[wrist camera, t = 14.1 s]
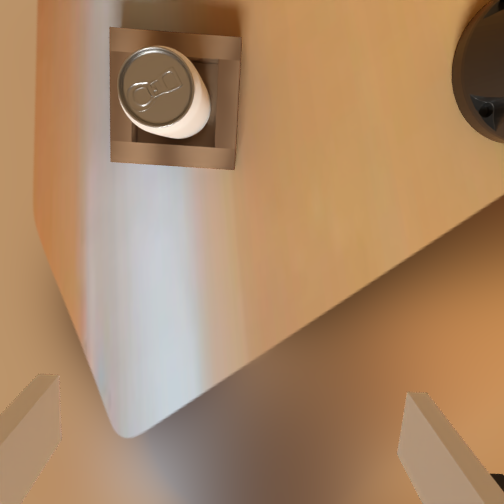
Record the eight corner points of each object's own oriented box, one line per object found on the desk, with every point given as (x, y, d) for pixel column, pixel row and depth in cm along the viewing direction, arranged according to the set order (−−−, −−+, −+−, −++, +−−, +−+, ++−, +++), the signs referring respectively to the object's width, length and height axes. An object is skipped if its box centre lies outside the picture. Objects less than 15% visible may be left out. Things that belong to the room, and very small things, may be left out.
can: (134, 91, 42) (93, 67, 30) (191, 59, 42) (172, 22, 30) (167, 150, 44) (140, 149, 32) (223, 120, 43) (216, 107, 31)
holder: (241, 46, 42) (241, 37, 39) (234, 168, 45) (234, 170, 42) (120, 37, 42) (109, 27, 39) (120, 161, 45) (110, 161, 41)
